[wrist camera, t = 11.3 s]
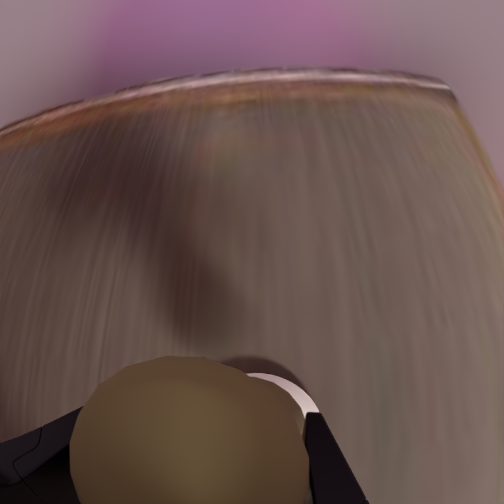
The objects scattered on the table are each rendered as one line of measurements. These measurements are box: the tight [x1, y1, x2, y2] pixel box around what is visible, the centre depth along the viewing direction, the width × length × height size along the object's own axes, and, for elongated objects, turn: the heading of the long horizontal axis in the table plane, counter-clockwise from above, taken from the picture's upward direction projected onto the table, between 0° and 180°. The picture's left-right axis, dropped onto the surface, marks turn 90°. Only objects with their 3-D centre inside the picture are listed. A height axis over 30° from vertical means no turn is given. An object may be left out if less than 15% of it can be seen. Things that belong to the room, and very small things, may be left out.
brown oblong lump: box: [70, 356, 309, 504], centre depth 9 cm, size 6×6×11 cm
